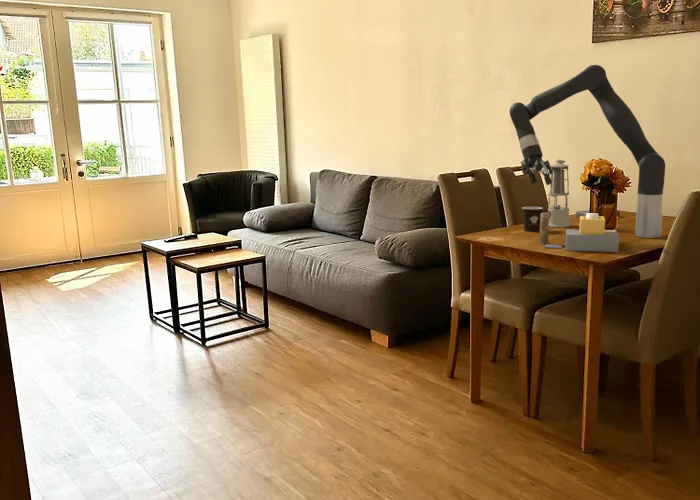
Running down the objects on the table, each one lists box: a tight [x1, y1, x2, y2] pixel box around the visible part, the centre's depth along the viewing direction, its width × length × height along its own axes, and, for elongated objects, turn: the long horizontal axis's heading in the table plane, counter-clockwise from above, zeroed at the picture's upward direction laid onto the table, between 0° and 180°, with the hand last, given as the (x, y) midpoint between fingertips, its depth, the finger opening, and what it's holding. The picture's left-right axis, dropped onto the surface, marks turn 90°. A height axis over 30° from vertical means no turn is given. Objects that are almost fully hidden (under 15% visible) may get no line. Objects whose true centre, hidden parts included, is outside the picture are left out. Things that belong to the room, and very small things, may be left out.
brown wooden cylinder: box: [539, 212, 550, 245], centre depth 250 cm, size 3×3×12 cm
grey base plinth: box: [564, 216, 620, 253], centre depth 239 cm, size 18×12×12 cm, turn 73°
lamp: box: [547, 159, 571, 228], centre depth 289 cm, size 10×13×30 cm
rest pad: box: [544, 243, 562, 250], centre depth 244 cm, size 6×6×1 cm
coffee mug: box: [521, 206, 551, 233], centre depth 279 cm, size 12×9×10 cm
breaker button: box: [586, 213, 599, 219], centre depth 238 cm, size 4×4×8 cm
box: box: [575, 209, 621, 218], centre depth 312 cm, size 11×17×3 cm, turn 101°
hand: (541, 183), depth 258 cm, fingers open, 8 cm apart
